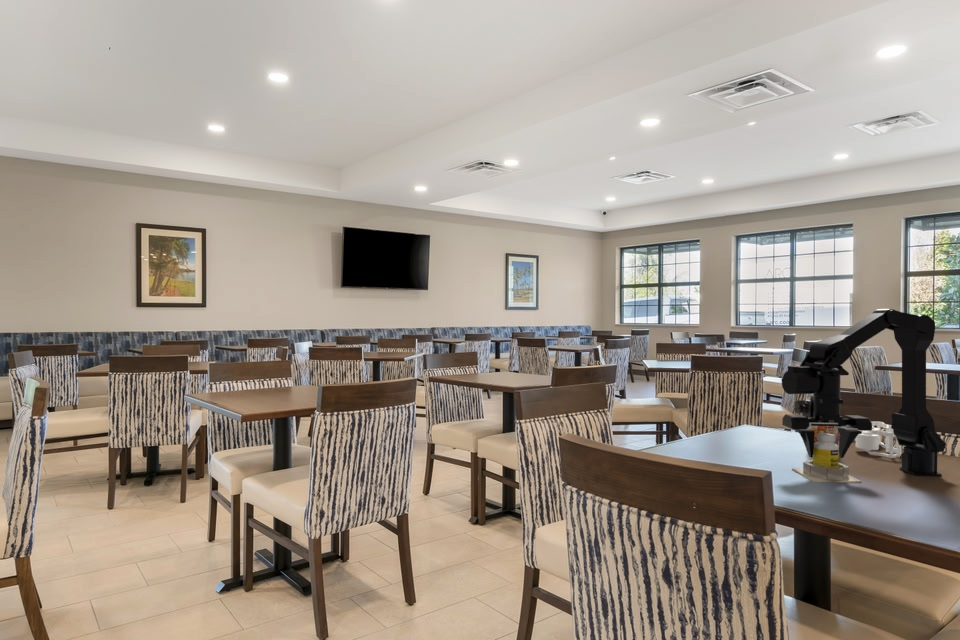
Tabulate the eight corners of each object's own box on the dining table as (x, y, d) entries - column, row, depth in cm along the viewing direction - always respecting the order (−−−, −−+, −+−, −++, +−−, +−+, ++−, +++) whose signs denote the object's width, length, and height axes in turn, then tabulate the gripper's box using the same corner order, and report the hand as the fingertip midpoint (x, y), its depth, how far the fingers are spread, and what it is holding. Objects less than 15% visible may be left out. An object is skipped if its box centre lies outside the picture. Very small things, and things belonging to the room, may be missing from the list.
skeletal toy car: (858, 443, 189) (859, 419, 189) (901, 447, 183) (902, 423, 183) (854, 454, 173) (854, 429, 173) (901, 460, 167) (901, 434, 167)
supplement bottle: (833, 478, 144) (833, 437, 144) (809, 474, 148) (809, 434, 148) (842, 474, 147) (842, 434, 147) (818, 470, 151) (818, 431, 151)
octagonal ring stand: (836, 472, 153) (837, 459, 153) (861, 484, 142) (861, 470, 142) (792, 471, 153) (792, 458, 153) (813, 483, 142) (813, 469, 142)
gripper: (848, 390, 155) (847, 450, 155) (773, 389, 156) (772, 449, 156) (873, 395, 144) (872, 461, 144) (793, 394, 145) (792, 459, 145)
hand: (825, 457), depth 147 cm, fingers open, 7 cm apart
